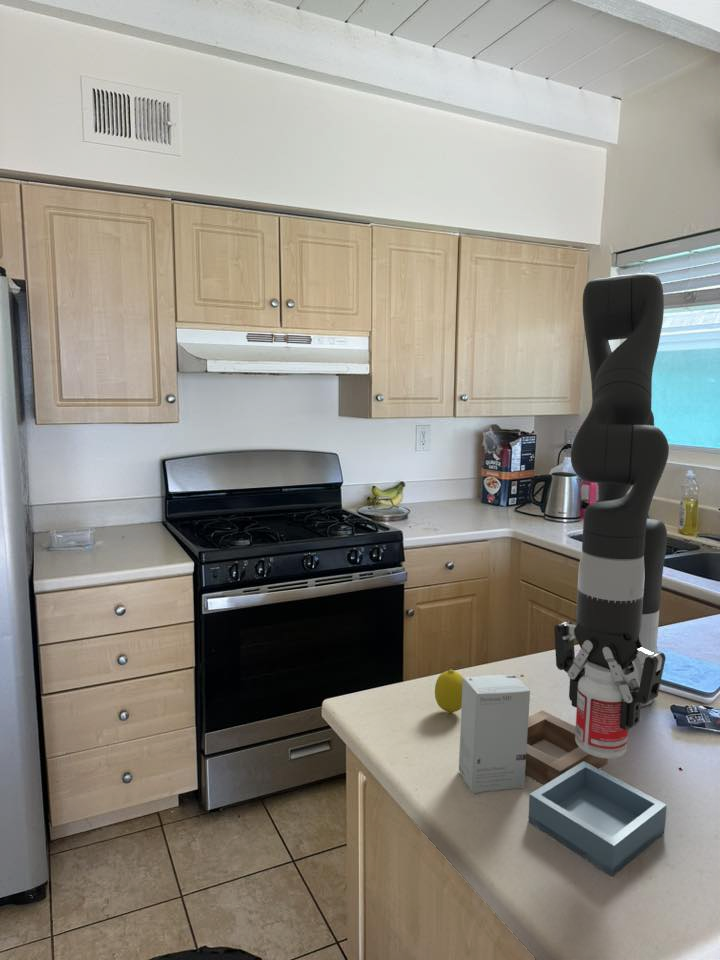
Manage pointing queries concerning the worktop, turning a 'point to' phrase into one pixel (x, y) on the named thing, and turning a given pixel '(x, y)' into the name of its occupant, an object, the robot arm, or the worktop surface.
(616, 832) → the tray
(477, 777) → the skincare box
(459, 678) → the lemon
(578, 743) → the pill bottle
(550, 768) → the collar block
